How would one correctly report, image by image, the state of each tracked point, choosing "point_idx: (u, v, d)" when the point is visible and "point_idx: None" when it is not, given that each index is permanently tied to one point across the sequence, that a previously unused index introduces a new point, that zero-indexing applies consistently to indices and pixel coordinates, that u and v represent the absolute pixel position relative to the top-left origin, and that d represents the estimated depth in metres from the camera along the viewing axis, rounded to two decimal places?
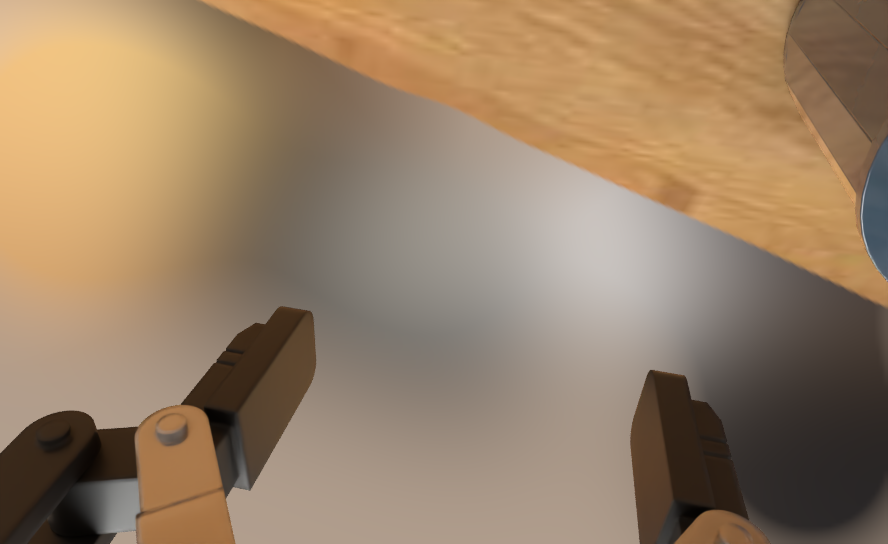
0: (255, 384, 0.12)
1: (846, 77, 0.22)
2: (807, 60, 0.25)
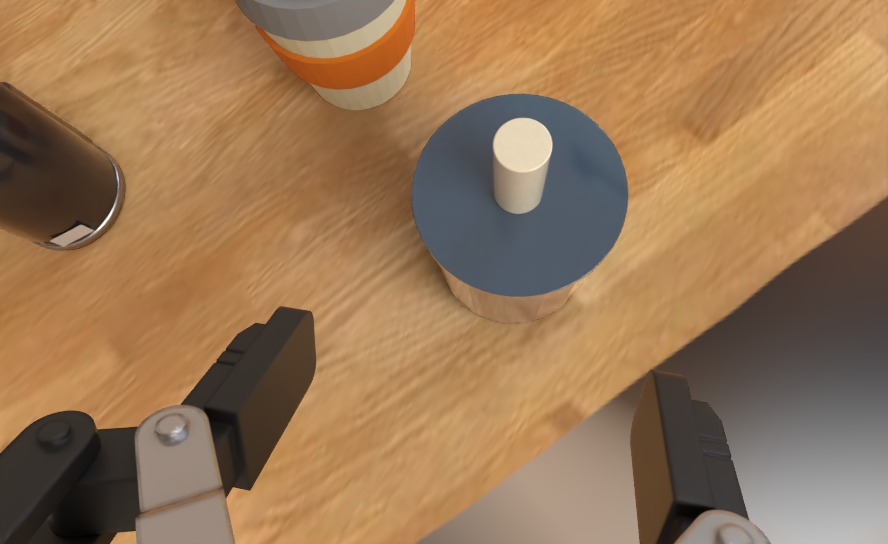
0: (255, 384, 0.12)
1: (463, 287, 0.38)
2: (474, 306, 0.42)
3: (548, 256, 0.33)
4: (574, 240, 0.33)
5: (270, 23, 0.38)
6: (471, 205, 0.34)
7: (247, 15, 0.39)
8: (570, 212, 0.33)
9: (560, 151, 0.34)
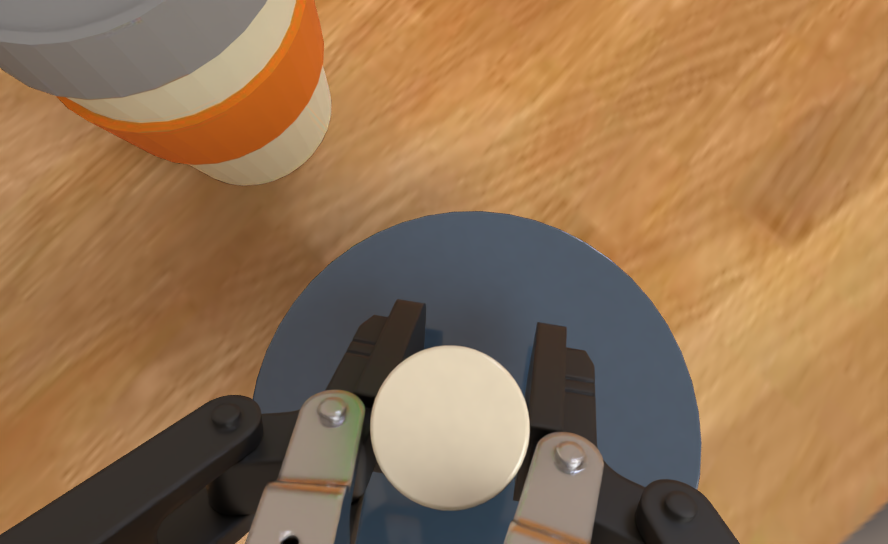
0: None
1: None
2: None
3: None
4: None
5: (12, 68, 0.20)
6: None
7: None
8: None
9: None
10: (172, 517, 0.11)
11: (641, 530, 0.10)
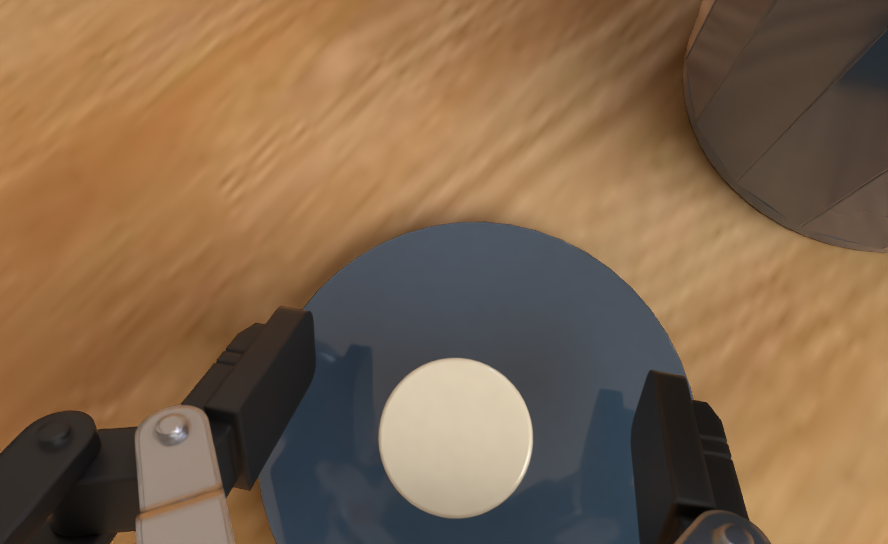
0: (255, 384, 0.12)
1: None
2: (871, 184, 0.14)
3: None
4: None
5: None
6: (375, 460, 0.17)
7: None
8: (579, 483, 0.16)
9: (557, 345, 0.17)
10: None
11: None
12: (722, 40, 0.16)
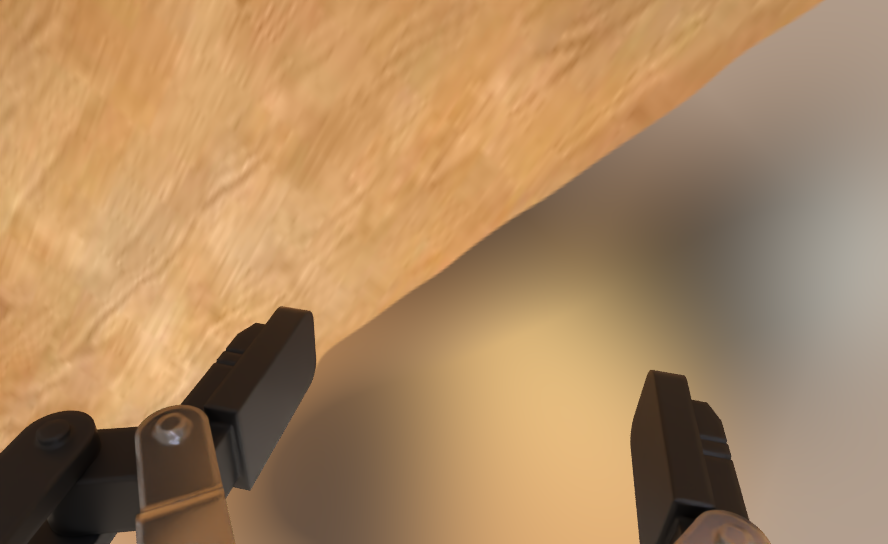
0: (255, 384, 0.12)
1: None
2: None
3: None
4: None
5: None
6: None
7: None
8: None
9: None
10: None
11: None
12: None
